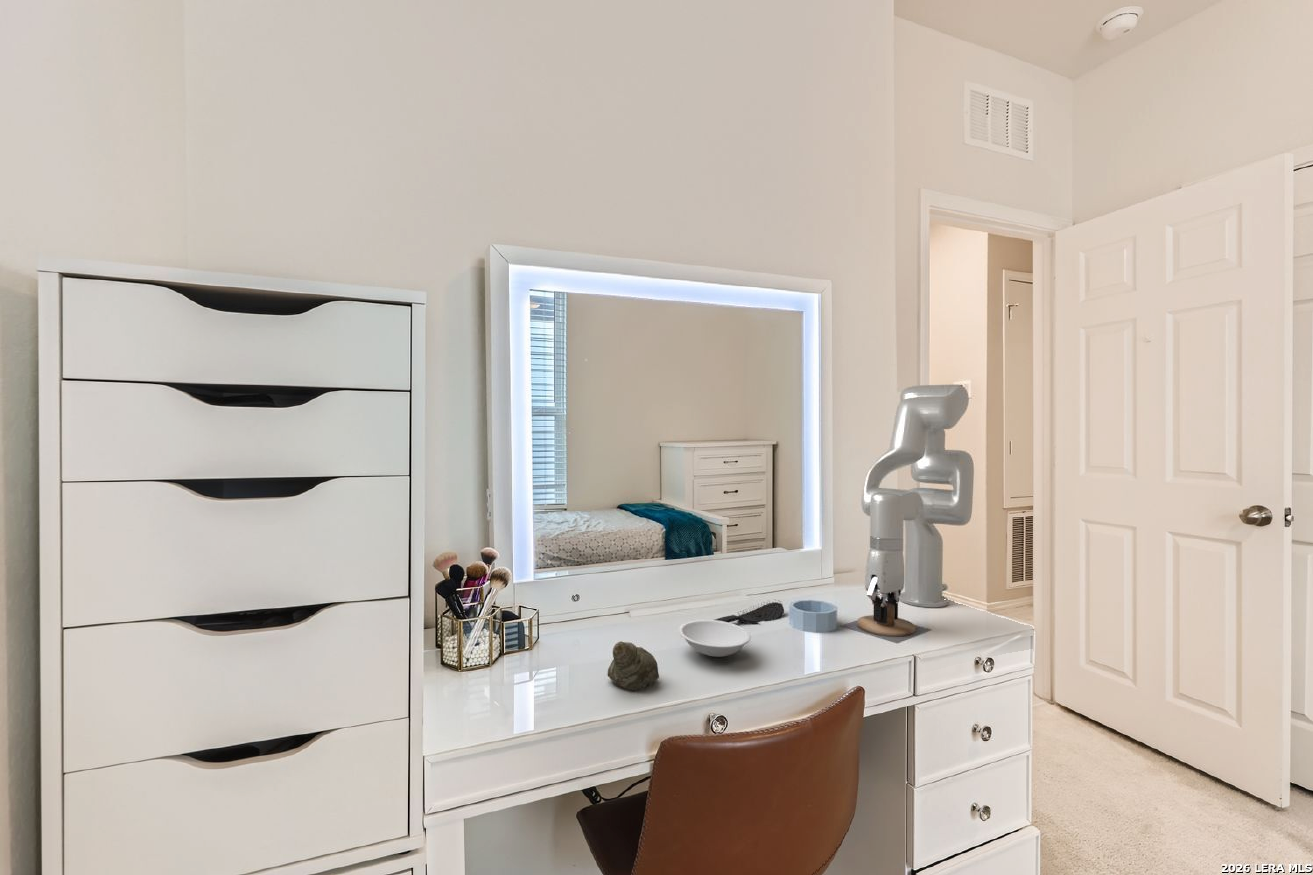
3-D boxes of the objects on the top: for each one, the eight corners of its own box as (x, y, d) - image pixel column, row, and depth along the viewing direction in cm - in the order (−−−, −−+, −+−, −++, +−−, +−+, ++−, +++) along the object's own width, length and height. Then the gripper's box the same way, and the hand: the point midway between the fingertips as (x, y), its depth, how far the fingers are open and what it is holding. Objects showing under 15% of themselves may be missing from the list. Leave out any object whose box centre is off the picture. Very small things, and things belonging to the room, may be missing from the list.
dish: (765, 665, 127) (765, 640, 127) (703, 676, 121) (703, 650, 121) (723, 637, 143) (723, 616, 143) (666, 646, 138) (666, 624, 137)
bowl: (809, 616, 159) (809, 597, 159) (846, 628, 150) (846, 607, 150) (780, 625, 152) (780, 605, 152) (817, 637, 143) (817, 616, 143)
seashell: (586, 647, 120) (602, 664, 111) (634, 608, 124) (653, 622, 115) (617, 691, 123) (635, 711, 113) (662, 651, 126) (683, 668, 117)
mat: (875, 616, 160) (875, 614, 160) (931, 631, 148) (931, 629, 148) (840, 627, 150) (840, 625, 150) (897, 645, 139) (897, 643, 139)
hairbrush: (692, 616, 151) (768, 595, 165) (693, 631, 152) (769, 609, 165) (714, 625, 144) (791, 603, 158) (714, 641, 145) (791, 617, 158)
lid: (876, 615, 158) (876, 594, 158) (925, 629, 148) (925, 606, 148) (846, 626, 150) (846, 603, 150) (895, 640, 140) (896, 616, 140)
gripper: (891, 538, 157) (890, 610, 157) (852, 545, 146) (851, 623, 147) (919, 542, 151) (918, 617, 151) (880, 550, 141) (879, 631, 141)
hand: (885, 619), depth 149 cm, fingers closed on lid, 4 cm apart
